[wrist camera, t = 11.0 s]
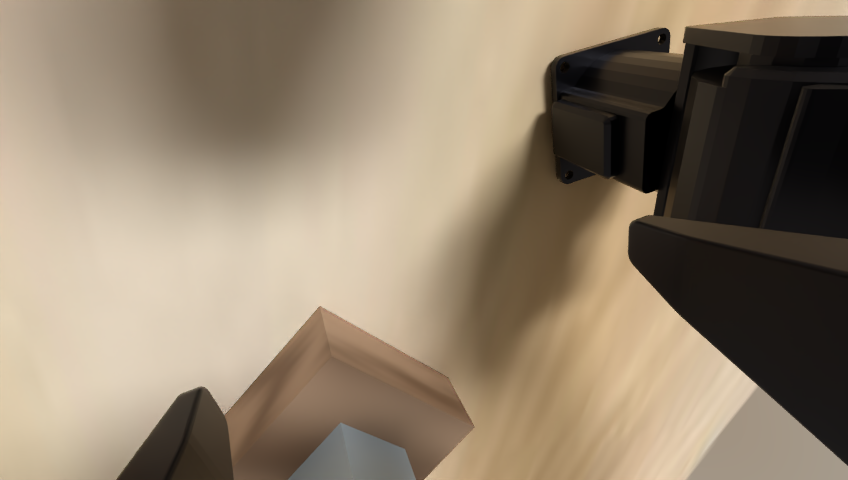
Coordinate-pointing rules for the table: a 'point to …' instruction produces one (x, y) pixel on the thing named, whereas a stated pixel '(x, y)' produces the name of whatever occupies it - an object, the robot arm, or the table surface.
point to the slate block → (355, 458)
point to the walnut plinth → (342, 402)
